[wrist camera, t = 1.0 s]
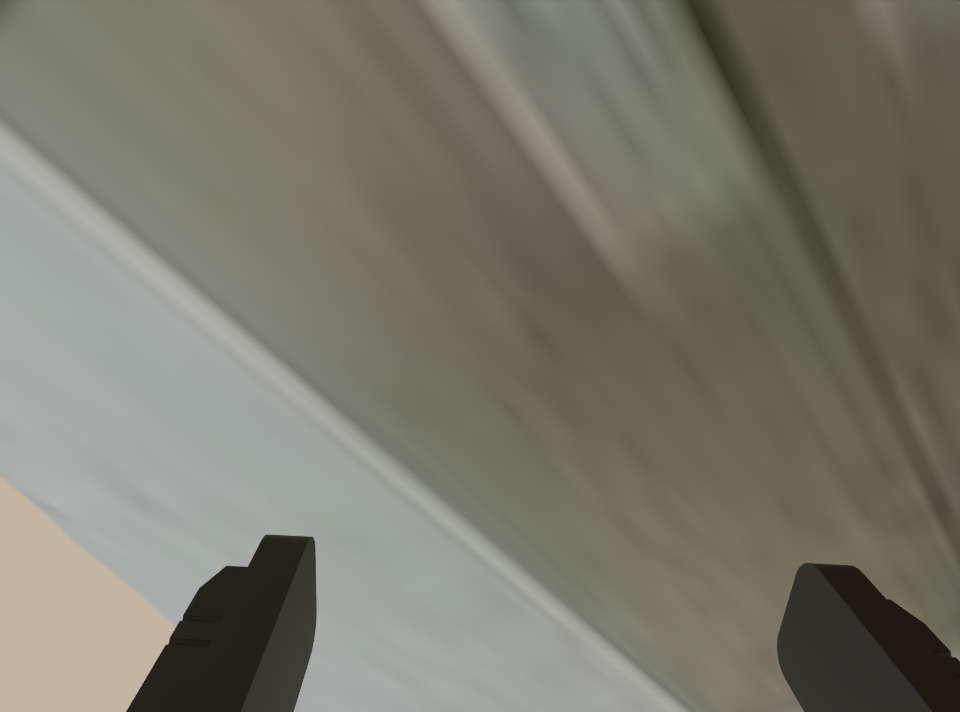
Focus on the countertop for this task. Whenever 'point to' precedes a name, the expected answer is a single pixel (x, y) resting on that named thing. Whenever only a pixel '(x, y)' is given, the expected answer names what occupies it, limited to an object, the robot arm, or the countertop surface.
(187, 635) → the robot arm
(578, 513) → the countertop surface
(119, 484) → the countertop surface
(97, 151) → the countertop surface
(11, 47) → the countertop surface
